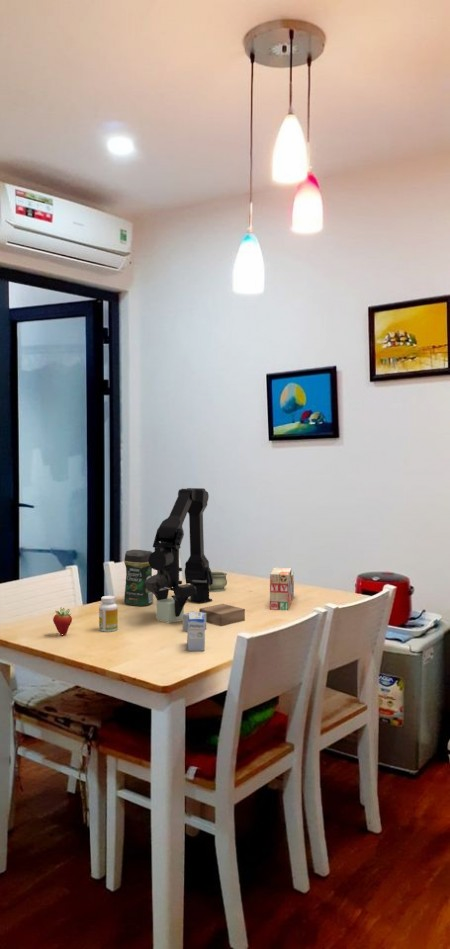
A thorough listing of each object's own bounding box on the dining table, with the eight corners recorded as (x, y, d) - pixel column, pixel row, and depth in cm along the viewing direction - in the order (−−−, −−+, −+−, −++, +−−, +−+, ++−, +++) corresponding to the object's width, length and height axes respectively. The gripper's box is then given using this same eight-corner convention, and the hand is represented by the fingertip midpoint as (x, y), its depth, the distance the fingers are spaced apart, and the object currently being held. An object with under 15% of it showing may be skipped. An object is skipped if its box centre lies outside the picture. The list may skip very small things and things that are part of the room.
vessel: (218, 594, 259) (218, 577, 258) (197, 591, 263) (197, 575, 262) (233, 588, 269) (233, 572, 269) (212, 586, 273) (212, 569, 273)
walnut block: (199, 621, 220) (199, 608, 220) (222, 616, 227) (222, 603, 227) (221, 627, 213) (221, 614, 213) (244, 621, 220) (244, 609, 220)
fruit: (62, 638, 199) (62, 610, 198) (49, 635, 202) (48, 608, 201) (75, 634, 203) (75, 606, 203) (62, 631, 206) (61, 604, 206)
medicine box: (187, 643, 195) (187, 611, 194) (203, 642, 195) (203, 611, 195) (188, 651, 187) (188, 619, 187) (205, 651, 187) (205, 618, 187)
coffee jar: (120, 604, 241) (120, 550, 240) (133, 600, 248) (133, 547, 247) (144, 607, 237) (144, 552, 236) (157, 602, 244) (157, 549, 243)
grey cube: (182, 631, 207) (182, 614, 207) (192, 627, 211) (192, 611, 211) (197, 633, 205) (197, 616, 204) (206, 629, 209) (206, 613, 209)
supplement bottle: (120, 628, 210) (120, 595, 210) (112, 632, 205) (112, 599, 205) (104, 626, 212) (104, 594, 212) (95, 631, 207) (95, 598, 206)
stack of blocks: (276, 596, 255) (276, 562, 255) (294, 597, 254) (294, 563, 253) (269, 610, 234) (269, 573, 234) (288, 611, 233) (288, 574, 232)
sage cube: (156, 619, 221) (156, 600, 221) (171, 616, 225) (171, 597, 225) (168, 623, 217) (168, 603, 216) (183, 619, 221) (183, 600, 221)
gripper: (131, 564, 221) (131, 613, 222) (169, 571, 208) (169, 624, 209) (158, 560, 229) (159, 607, 230) (197, 567, 216) (197, 618, 216)
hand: (170, 614), depth 221 cm, fingers open, 7 cm apart
